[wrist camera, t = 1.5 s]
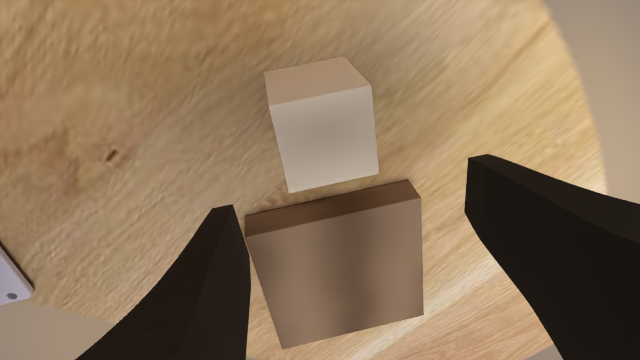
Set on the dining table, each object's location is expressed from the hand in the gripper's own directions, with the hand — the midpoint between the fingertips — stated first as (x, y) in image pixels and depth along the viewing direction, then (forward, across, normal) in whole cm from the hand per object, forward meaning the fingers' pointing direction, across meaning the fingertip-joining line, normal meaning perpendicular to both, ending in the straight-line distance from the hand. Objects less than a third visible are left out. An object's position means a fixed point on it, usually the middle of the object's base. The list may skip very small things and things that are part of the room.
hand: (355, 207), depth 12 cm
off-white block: (+10, 0, 0) cm, 10 cm away
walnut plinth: (+10, 0, +11) cm, 15 cm away
